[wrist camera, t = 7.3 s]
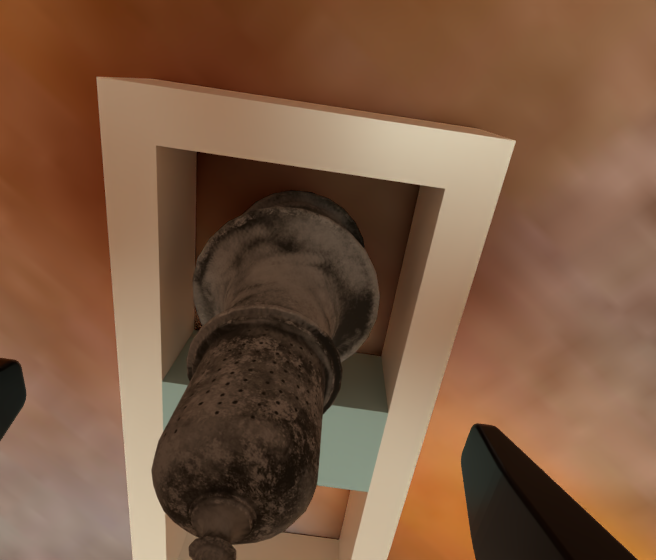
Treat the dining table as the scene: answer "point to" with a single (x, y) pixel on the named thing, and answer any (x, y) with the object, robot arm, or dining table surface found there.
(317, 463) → the salt shaker
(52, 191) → the dining table surface
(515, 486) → the robot arm
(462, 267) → the housing
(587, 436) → the dining table surface
